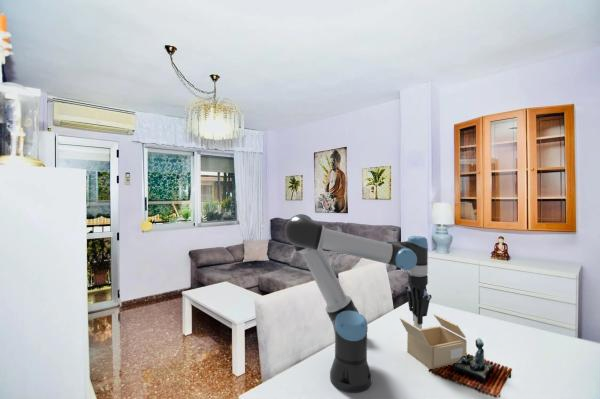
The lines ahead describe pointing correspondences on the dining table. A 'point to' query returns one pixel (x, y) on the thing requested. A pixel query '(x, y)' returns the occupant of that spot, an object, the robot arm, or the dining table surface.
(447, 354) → the carton
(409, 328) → the near flap
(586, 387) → the dining table surface
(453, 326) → the far flap
